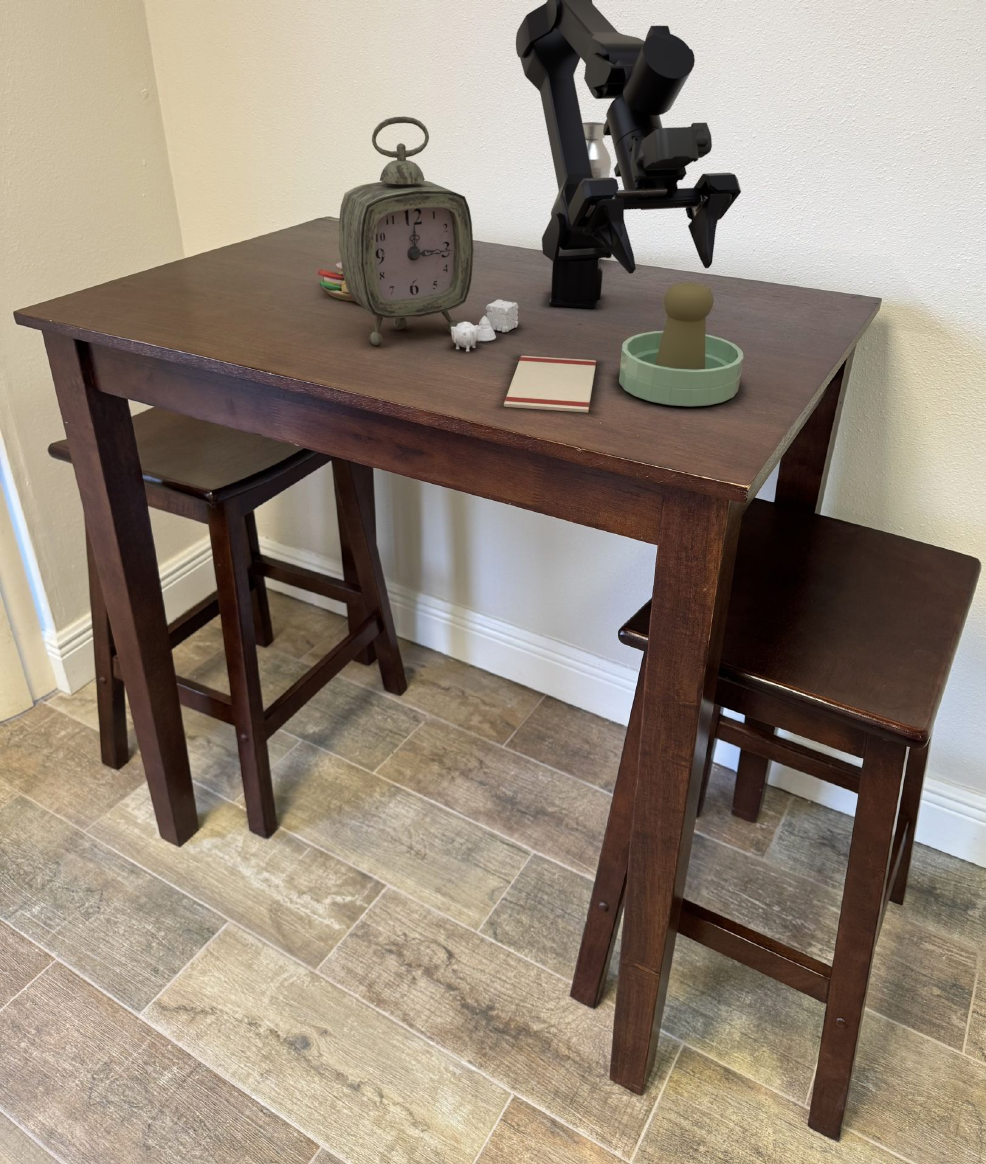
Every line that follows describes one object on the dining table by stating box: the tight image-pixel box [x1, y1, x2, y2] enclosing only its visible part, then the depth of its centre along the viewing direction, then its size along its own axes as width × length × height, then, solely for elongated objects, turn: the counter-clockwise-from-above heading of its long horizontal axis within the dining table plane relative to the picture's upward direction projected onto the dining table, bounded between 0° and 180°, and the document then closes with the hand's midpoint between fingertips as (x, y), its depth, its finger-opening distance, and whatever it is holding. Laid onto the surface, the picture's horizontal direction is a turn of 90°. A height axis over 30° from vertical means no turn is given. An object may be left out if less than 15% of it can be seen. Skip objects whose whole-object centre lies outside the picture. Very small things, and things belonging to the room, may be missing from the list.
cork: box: [655, 281, 714, 370], centre depth 103 cm, size 6×6×11 cm
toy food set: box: [317, 261, 357, 303], centre depth 134 cm, size 13×13×3 cm
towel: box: [503, 355, 597, 414], centre depth 106 cm, size 9×15×1 cm, turn 172°
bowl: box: [618, 330, 745, 407], centre depth 105 cm, size 13×13×4 cm
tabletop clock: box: [338, 116, 475, 346], centre depth 113 cm, size 14×9×25 cm, turn 117°
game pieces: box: [450, 299, 520, 352], centre depth 118 cm, size 12×3×3 cm, turn 149°
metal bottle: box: [582, 121, 612, 261], centre depth 145 cm, size 6×7×20 cm
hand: (671, 268), depth 103 cm, fingers open, 9 cm apart
